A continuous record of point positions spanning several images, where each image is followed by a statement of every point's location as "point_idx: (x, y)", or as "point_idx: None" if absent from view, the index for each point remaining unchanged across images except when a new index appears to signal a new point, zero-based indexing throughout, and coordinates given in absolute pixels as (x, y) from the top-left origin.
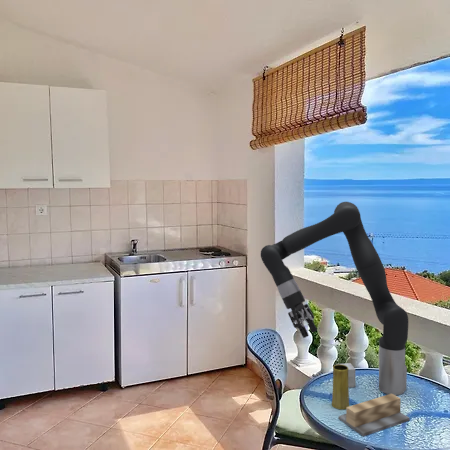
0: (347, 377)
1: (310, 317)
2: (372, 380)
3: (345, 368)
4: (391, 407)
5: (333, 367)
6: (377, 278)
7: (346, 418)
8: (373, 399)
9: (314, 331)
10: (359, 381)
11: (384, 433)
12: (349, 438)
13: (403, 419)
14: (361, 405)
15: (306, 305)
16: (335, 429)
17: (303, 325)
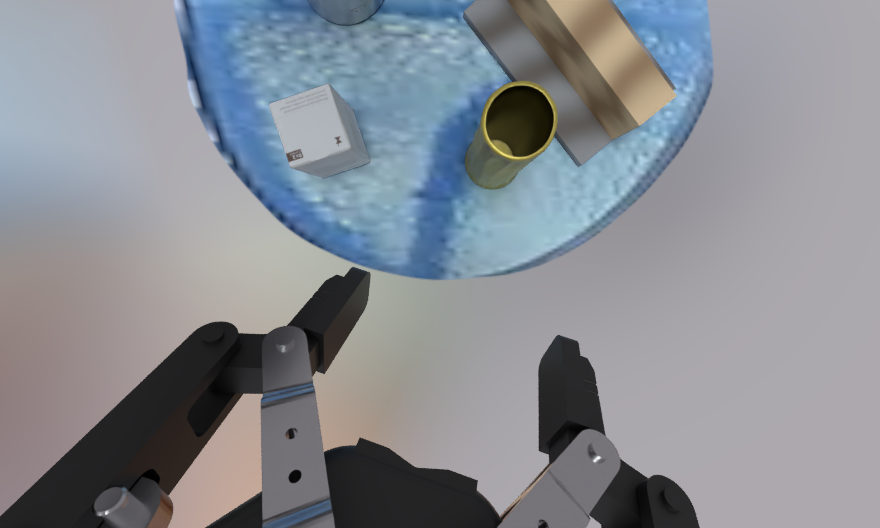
0: (521, 101)
1: (296, 376)
2: (285, 46)
3: (495, 100)
4: None
5: (528, 158)
6: None
7: (618, 136)
8: (564, 20)
9: (368, 286)
10: None
11: (643, 25)
12: (683, 133)
13: None
14: (619, 69)
15: None
16: (639, 174)
17: (594, 438)
